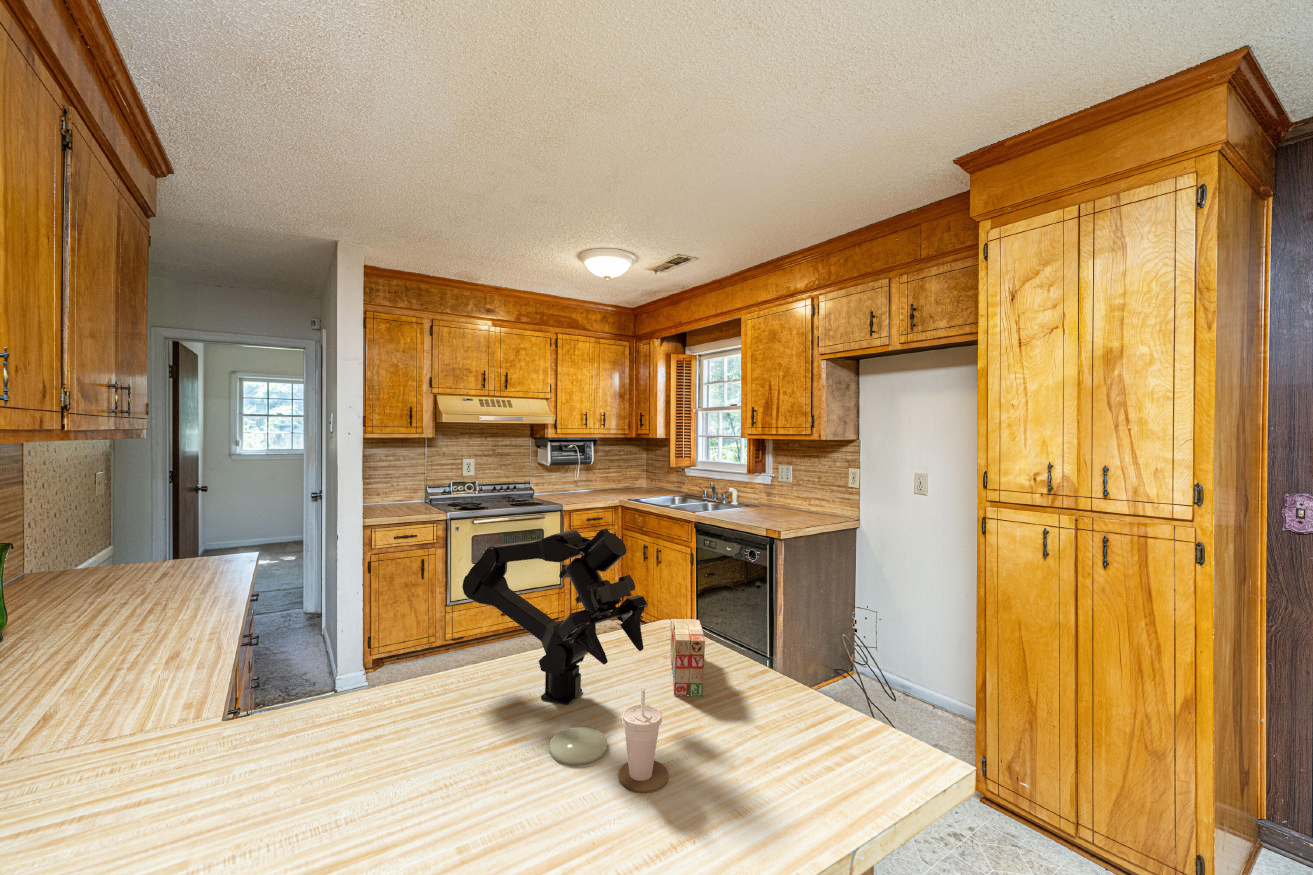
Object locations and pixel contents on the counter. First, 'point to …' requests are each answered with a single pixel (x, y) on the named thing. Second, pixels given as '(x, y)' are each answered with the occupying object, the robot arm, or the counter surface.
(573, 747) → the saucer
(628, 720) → the smoothie
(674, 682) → the stack of blocks
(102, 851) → the counter surface
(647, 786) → the disc
